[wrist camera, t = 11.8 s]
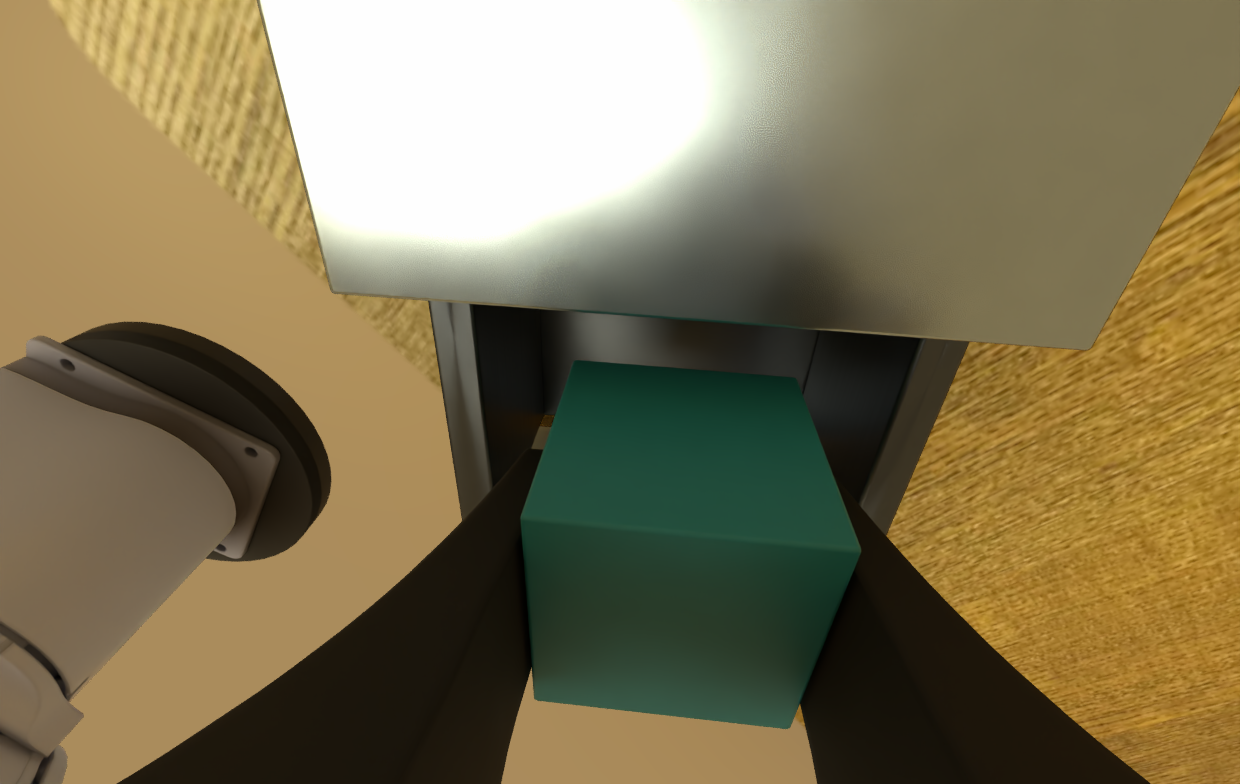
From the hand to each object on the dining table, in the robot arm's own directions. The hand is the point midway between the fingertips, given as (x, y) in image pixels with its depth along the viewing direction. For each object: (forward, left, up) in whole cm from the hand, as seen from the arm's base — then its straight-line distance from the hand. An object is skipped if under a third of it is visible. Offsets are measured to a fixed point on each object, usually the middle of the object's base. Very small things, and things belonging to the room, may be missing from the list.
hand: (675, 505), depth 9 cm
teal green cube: (0, 0, -1) cm, 1 cm away
